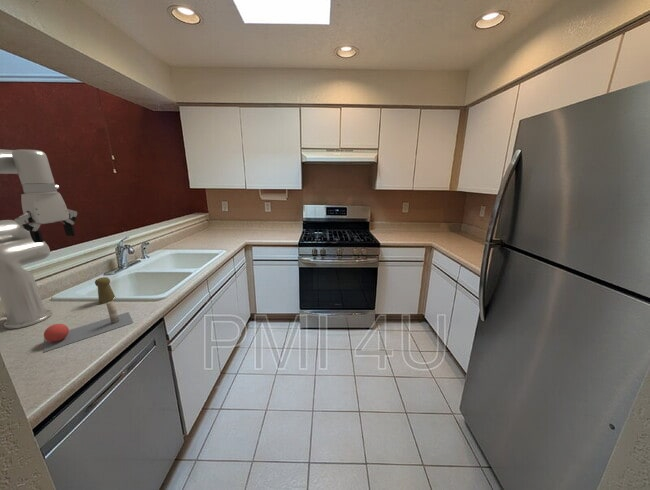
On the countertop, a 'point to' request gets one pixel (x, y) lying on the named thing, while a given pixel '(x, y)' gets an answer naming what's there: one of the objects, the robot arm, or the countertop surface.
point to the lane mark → (89, 331)
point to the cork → (104, 290)
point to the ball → (56, 332)
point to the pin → (112, 312)
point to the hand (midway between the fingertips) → (55, 238)
